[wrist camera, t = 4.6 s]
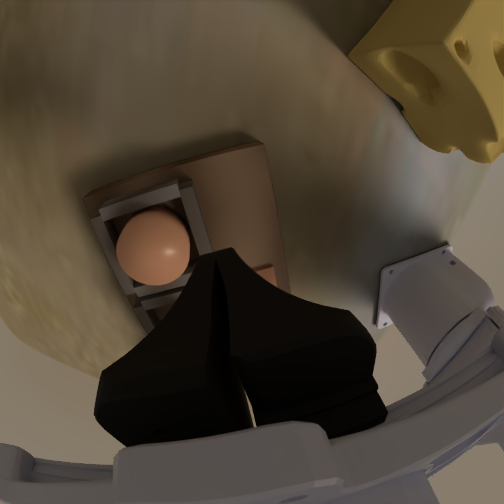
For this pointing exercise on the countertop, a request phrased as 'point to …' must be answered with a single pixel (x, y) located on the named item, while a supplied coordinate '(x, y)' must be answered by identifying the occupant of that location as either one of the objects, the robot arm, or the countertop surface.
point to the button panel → (197, 218)
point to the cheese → (442, 71)
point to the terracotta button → (154, 246)
